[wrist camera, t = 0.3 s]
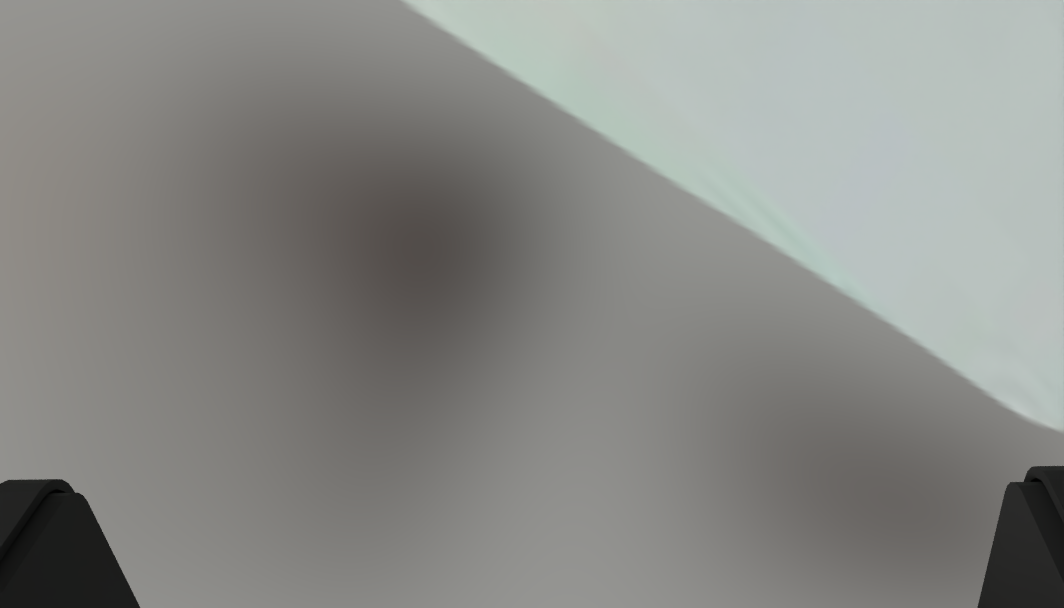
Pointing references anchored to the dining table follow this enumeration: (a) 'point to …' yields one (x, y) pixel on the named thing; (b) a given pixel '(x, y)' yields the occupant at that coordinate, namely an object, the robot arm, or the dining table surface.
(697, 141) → the dining table surface
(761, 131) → the dining table surface
